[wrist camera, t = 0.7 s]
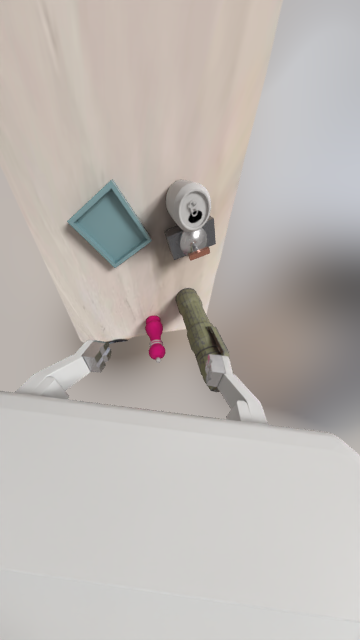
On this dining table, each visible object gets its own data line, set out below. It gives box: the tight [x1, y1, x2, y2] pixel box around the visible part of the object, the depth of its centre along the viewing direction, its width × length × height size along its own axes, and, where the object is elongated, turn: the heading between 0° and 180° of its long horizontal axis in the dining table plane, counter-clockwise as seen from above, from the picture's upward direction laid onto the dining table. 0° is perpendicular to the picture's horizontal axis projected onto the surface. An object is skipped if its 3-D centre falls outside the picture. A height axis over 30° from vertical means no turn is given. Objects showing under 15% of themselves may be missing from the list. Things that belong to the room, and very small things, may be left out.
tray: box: [67, 179, 152, 268], centre depth 33 cm, size 13×13×3 cm
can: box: [166, 180, 211, 232], centre depth 29 cm, size 8×8×12 cm
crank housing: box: [164, 216, 216, 261], centre depth 36 cm, size 7×12×10 cm, turn 106°
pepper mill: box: [145, 316, 165, 362], centre depth 54 cm, size 7×7×20 cm
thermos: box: [176, 288, 234, 392], centre depth 44 cm, size 9×12×35 cm
